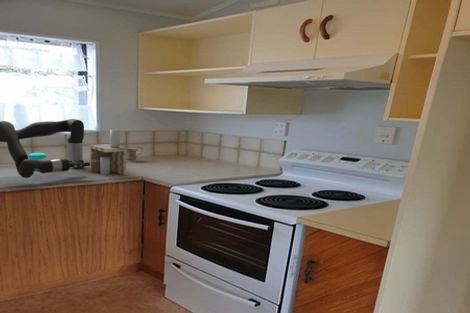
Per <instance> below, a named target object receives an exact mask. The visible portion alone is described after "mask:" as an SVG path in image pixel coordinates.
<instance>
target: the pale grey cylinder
mask: <svg viewBox="0 0 470 313" xmlns="http://www.w3.org/2000/svg"><path fill="white" fill-rule="evenodd" d="M109 130H110V131H109V144H110V147H111V148H120V146H121V130H120V129H109Z"/></svg>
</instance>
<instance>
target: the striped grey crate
mask: <svg viewBox="0 0 470 313" xmlns="http://www.w3.org/2000/svg"><path fill="white" fill-rule="evenodd" d="M89 146H90V147H89V148H90V173H100V157H110V172H112V173H116V174H119V175H121V176H126V175H127V172H126V171H127V170H126V169H127V162H126V149H127V147H126V146H125V147H124V146H121V145H120V148H111V147H110V143H108V144H90V145H89Z"/></svg>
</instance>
